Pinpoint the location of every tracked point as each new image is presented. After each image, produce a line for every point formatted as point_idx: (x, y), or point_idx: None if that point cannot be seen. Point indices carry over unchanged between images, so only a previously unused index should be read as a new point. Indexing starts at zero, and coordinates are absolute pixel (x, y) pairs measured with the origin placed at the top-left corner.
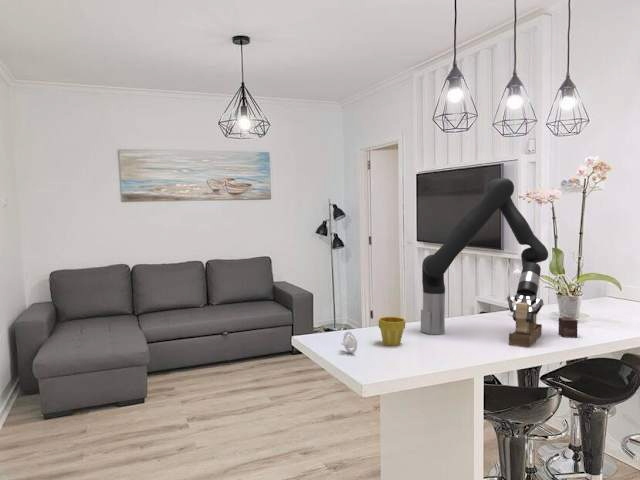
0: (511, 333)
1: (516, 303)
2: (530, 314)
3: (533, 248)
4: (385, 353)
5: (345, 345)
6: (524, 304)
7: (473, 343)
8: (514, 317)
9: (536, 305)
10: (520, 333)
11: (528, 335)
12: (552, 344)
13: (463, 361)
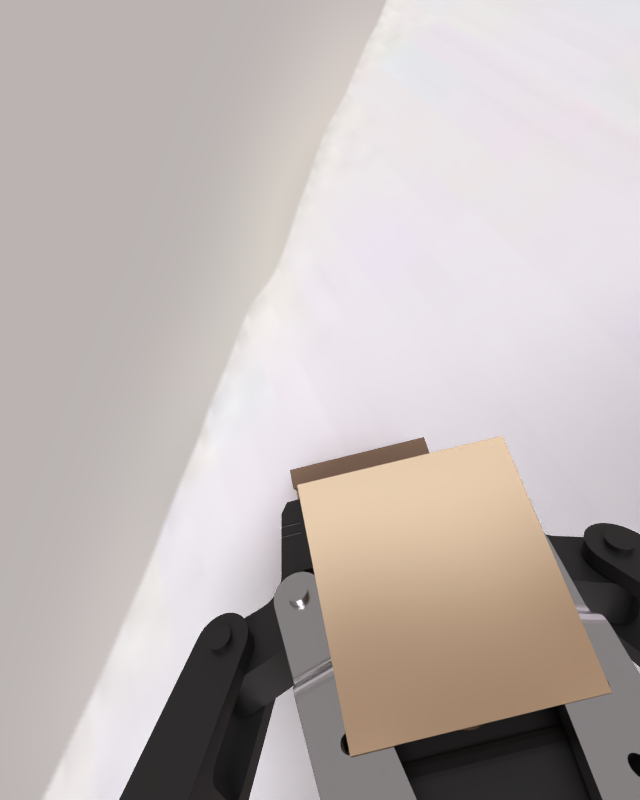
0: (412, 449)
1: (499, 453)
2: (287, 555)
3: None
4: (618, 30)
5: None
6: (339, 476)
7: (549, 342)
8: None
9: (189, 761)
10: None
11: (302, 481)
12: None
13: (385, 127)
